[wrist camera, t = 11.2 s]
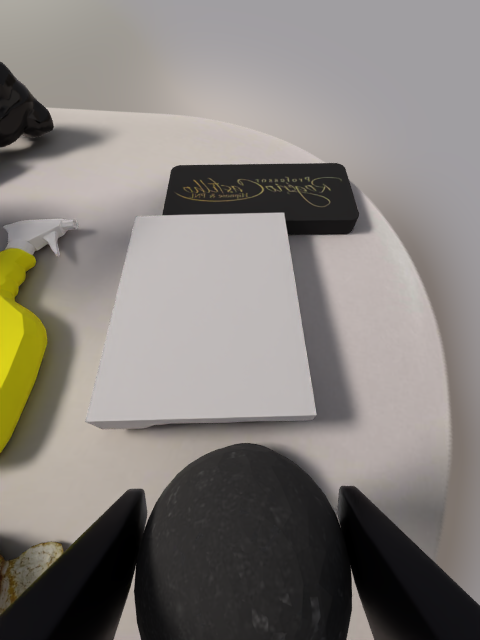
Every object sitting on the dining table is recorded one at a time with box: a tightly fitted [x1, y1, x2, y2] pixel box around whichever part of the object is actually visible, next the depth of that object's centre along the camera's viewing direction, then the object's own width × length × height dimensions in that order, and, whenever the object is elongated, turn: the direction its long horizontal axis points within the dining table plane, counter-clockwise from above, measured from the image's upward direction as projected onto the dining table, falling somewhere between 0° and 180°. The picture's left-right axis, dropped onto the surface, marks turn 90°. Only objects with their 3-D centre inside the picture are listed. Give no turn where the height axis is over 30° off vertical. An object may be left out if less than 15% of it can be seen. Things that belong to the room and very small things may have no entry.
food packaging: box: [85, 213, 317, 429], centre depth 25 cm, size 15×3×20 cm
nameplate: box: [163, 163, 359, 234], centre depth 33 cm, size 21×2×10 cm
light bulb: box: [134, 445, 352, 640], centre depth 10 cm, size 6×6×10 cm
